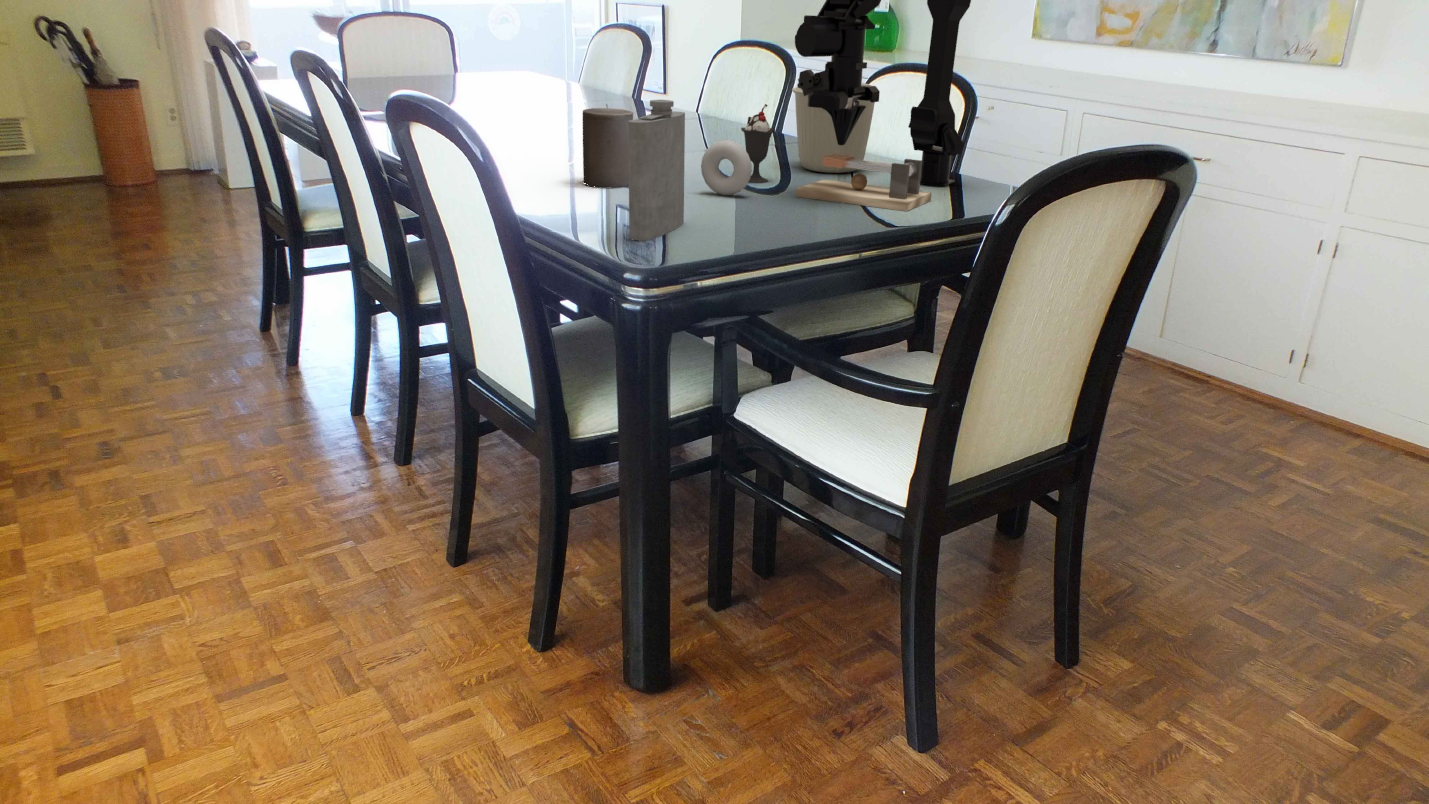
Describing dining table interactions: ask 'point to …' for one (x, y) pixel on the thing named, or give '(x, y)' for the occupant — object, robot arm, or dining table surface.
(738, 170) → the donut
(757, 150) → the sundae
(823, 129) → the canister
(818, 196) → the base
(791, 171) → the dining table surface
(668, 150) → the hip flask
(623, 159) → the pillar candle
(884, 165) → the lever
